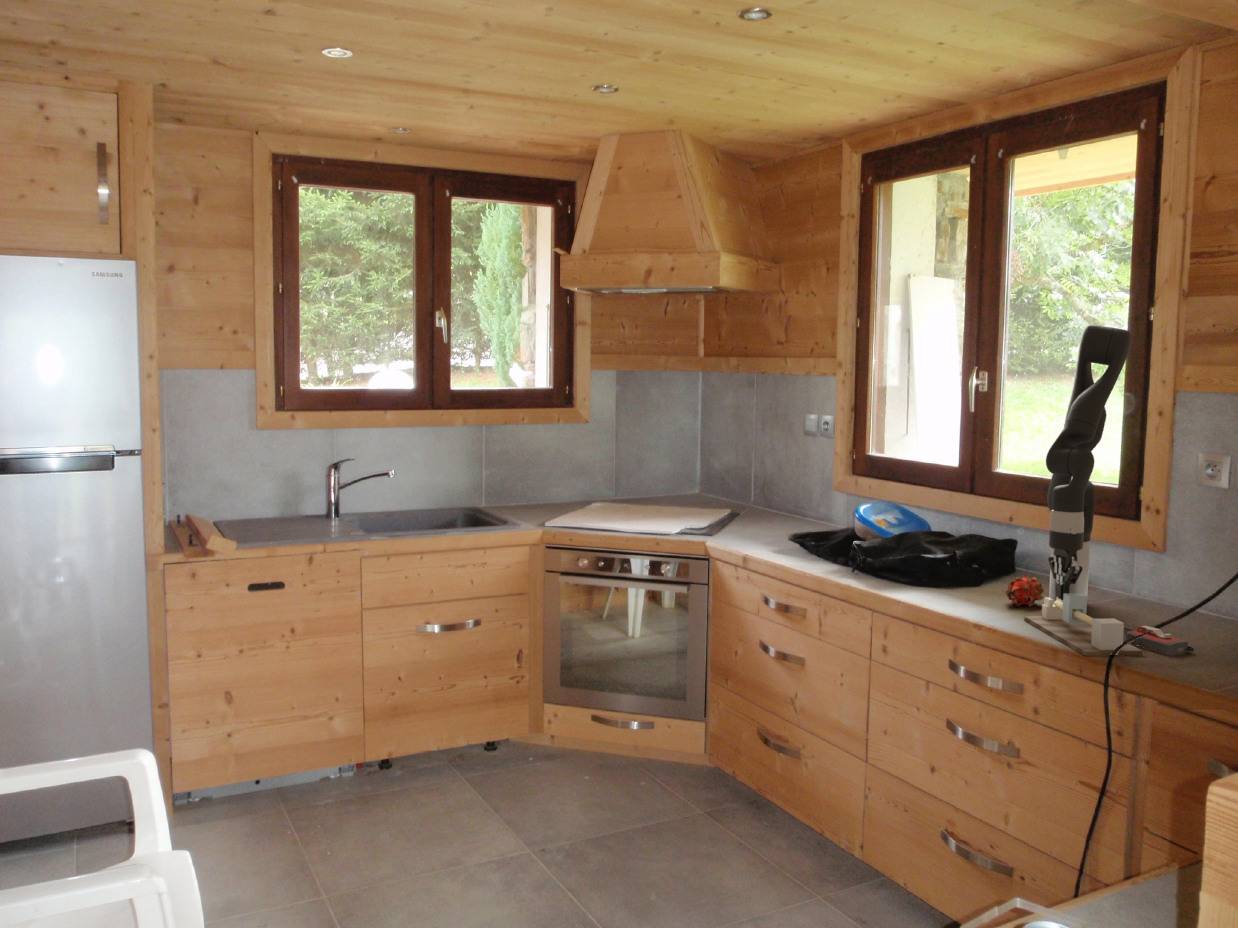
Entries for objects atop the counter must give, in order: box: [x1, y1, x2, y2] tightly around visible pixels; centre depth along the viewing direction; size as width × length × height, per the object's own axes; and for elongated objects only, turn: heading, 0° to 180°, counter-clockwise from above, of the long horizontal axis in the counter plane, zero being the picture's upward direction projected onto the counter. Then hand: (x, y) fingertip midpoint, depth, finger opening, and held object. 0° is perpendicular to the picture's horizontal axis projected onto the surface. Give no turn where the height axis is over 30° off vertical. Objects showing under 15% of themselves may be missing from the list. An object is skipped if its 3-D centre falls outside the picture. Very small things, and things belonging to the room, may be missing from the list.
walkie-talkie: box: [1124, 625, 1195, 656], centre depth 228 cm, size 9×4×20 cm
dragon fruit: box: [1005, 574, 1045, 608], centre depth 263 cm, size 8×8×12 cm
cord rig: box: [1041, 596, 1125, 650], centre depth 233 cm, size 28×5×6 cm, turn 2°
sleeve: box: [1062, 593, 1088, 623], centre depth 236 cm, size 3×4×6 cm
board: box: [1023, 615, 1144, 657], centre depth 233 cm, size 30×13×1 cm, turn 2°
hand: (1063, 599), depth 241 cm, fingers closed
